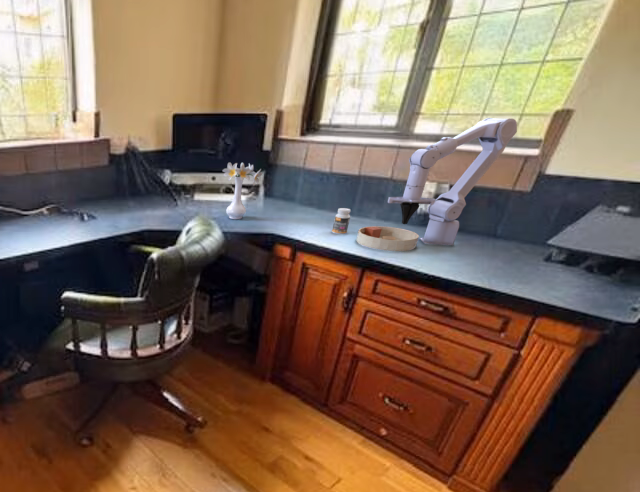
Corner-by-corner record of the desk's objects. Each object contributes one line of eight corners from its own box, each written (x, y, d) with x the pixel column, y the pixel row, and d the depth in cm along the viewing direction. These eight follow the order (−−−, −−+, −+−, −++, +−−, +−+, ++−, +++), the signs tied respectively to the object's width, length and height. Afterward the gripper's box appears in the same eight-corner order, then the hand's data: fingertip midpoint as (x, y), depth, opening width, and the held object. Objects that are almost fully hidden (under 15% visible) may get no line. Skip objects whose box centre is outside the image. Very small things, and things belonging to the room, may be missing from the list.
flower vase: (252, 222, 195) (259, 165, 183) (214, 219, 203) (218, 163, 191) (259, 216, 205) (266, 161, 193) (222, 213, 213) (226, 160, 201)
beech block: (391, 247, 156) (394, 236, 155) (392, 250, 153) (395, 239, 151) (379, 246, 158) (382, 235, 156) (380, 249, 155) (383, 238, 153)
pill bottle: (331, 234, 176) (336, 210, 171) (332, 230, 180) (337, 207, 175) (345, 235, 173) (351, 211, 169) (346, 232, 178) (352, 208, 173)
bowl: (408, 239, 167) (411, 227, 165) (421, 254, 151) (425, 242, 148) (352, 235, 173) (355, 225, 171) (359, 250, 156) (362, 238, 154)
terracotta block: (379, 238, 166) (381, 228, 164) (370, 239, 165) (373, 229, 164) (371, 236, 170) (374, 226, 168) (363, 237, 169) (365, 227, 167)
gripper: (395, 186, 150) (384, 224, 156) (442, 188, 145) (429, 227, 152) (390, 183, 155) (381, 220, 162) (436, 184, 151) (424, 222, 158)
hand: (404, 223), depth 157 cm, fingers closed
